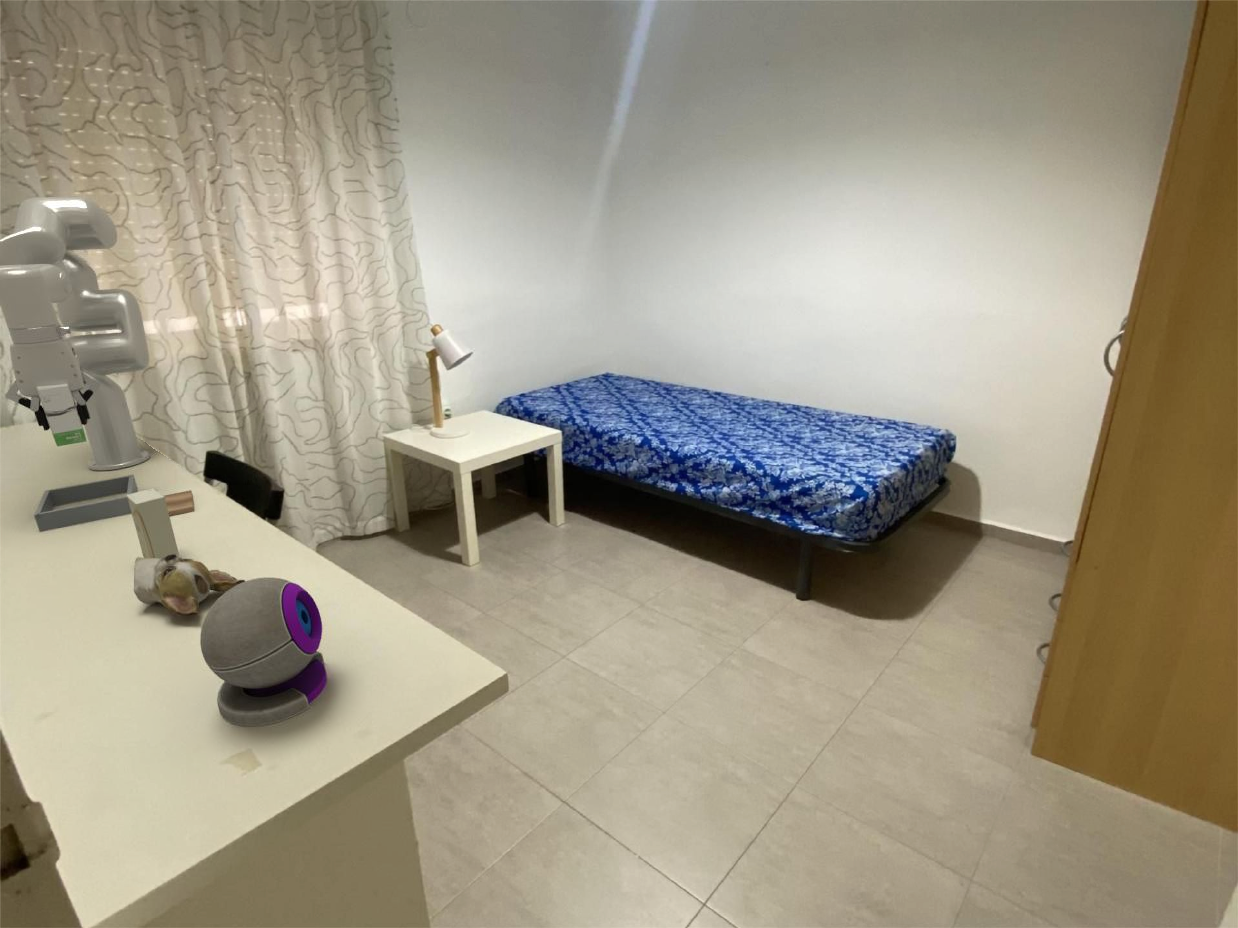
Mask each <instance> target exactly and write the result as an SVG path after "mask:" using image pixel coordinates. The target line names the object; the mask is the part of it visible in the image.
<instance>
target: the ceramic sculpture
mask: <svg viewBox="0 0 1238 928" xmlns="http://www.w3.org/2000/svg"><path fill="white" fill-rule="evenodd" d="M134 564H135V565H134V568H133V570H134V572H133V573H134V574H133V593H134V594H135V597H136V598H137V600H138V601H140V603H142V604H145V605H147V606H148V605H150V606H151V605H155V604H156V603H161V604H162V606H163V607H164V608H166V610H167V611H169V613H171V614H173V615H174V616H176V617H179V618H182V617H184V618H187V617H193V616H197V615H199V609H200V603H201V602H202V601H204V600H205V599H206V598H208V596H209V595H210V593H211V591H212V592H218V593H223V592H224V593H225V592H227V591H228V590H230V589H231V588H233V587H235V586H236V585H238V584H241V583H243V582H246V580H245V579H237V578H236V577H234V576H231V574H229V573H227V572H225V571H220V570H219V569H210V570H209V568H208V567H207V566H206V565H205V564H204V563H203V562H201V561H197V560H194V559H192V558H182V557H181V556H180V555H179V556H178V555H175V554H172V555H168V556H166V557H164V558H162V559H158V558H144V557H140V556H137V557H136V558H135V562H134Z"/></svg>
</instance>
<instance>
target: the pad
mask: <svg viewBox="0 0 1238 928" xmlns="http://www.w3.org/2000/svg"><path fill="white" fill-rule="evenodd" d="M192 492H193V491H192V490H191V489H190V490H185V491H180V492H175V493H169V494H165V495H164V494H163V496H164V497H165V500H166V504H167V508H168V512H169V516H170V517H174V516H177V515H181V514H186V513H192V512H195V507H194V506H195V505H194V499H193V498H194V497H193V493H192Z"/></svg>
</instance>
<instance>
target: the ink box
mask: <svg viewBox="0 0 1238 928" xmlns="http://www.w3.org/2000/svg"><path fill="white" fill-rule="evenodd" d="M36 388H37V391H38V394H39V397H40V400H41V405H42V407H43V409H44V412H45V415H46V417H47V420H48V423H49V426H50V429H49V430H50V431H51V434H52V437H53V439H54V442H55V444H56V446H57V447H62V446H67V445H73V444H80V443H85V442H87V437H86V433H85V430H84V429H85V428H84V427H83V426H84V425H82V423H81V420H80V417H79V414H78V411H77V408H76V406H77V403H76V400H75V398H74V397H73V396H72V394H71V391H70V389H69V386H68V384H60V385H47V386H37V387H36Z"/></svg>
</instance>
